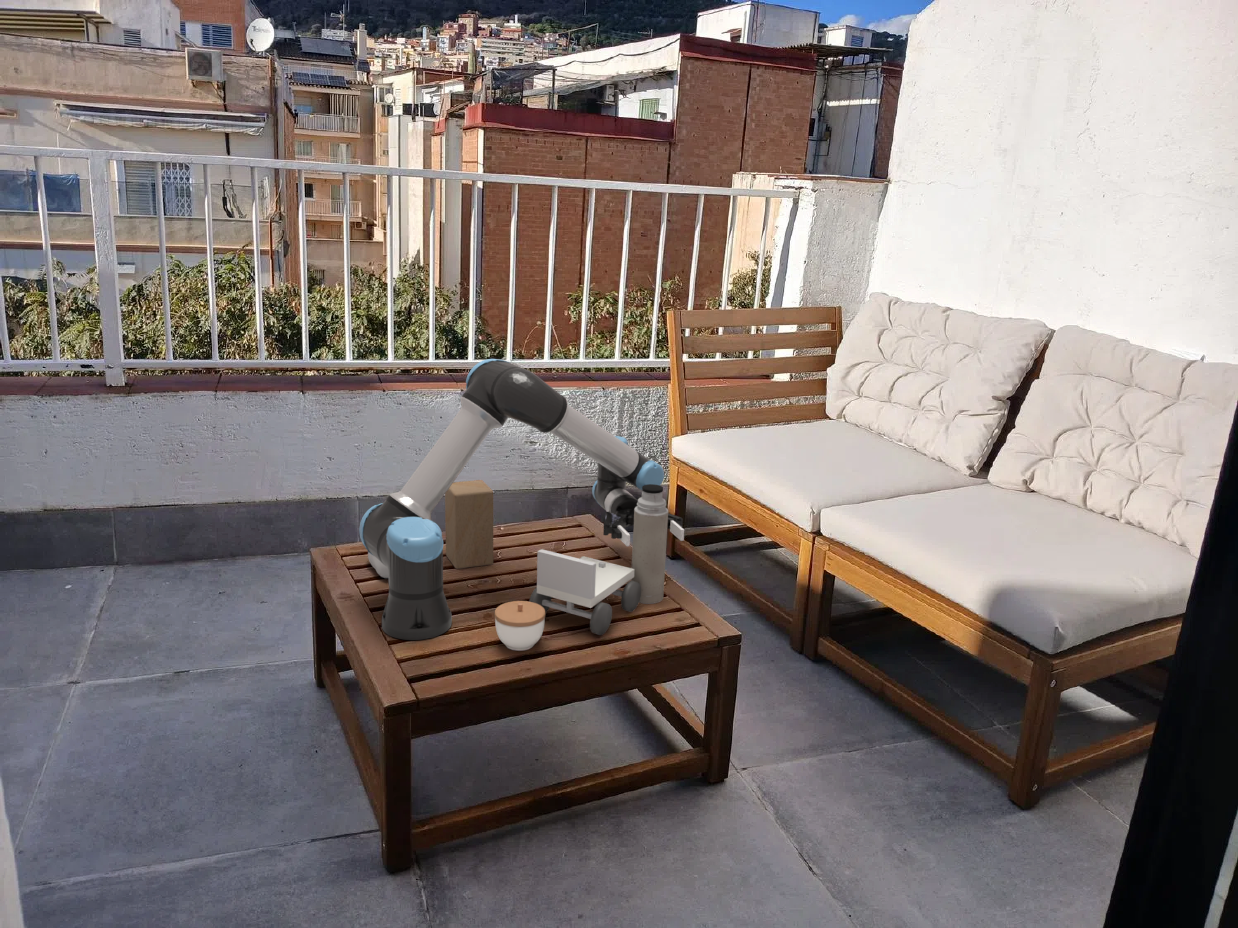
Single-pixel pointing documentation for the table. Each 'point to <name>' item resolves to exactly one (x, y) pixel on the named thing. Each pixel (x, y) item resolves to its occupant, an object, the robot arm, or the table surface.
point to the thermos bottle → (650, 543)
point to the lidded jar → (519, 624)
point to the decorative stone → (378, 566)
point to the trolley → (583, 586)
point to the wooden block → (469, 524)
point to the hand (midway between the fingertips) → (655, 538)
